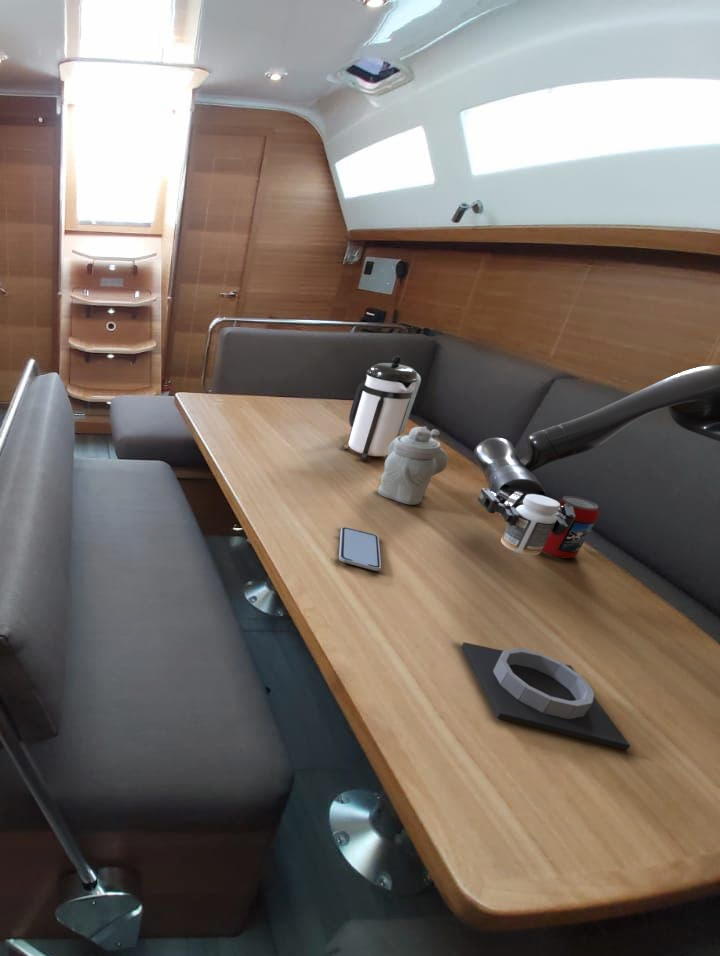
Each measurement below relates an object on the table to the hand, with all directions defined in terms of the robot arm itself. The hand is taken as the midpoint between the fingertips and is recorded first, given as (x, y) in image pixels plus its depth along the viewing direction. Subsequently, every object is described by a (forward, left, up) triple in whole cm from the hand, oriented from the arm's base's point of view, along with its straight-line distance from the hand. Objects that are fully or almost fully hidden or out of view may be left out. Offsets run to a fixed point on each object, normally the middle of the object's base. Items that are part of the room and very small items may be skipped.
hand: (536, 525), depth 86 cm
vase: (+4, -89, -14) cm, 90 cm away
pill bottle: (0, -2, -6) cm, 7 cm away
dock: (+6, +26, -14) cm, 31 cm away
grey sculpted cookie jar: (+8, -41, -14) cm, 44 cm away
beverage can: (-16, -21, -14) cm, 30 cm away
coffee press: (+13, -68, -14) cm, 70 cm away
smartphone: (+24, -6, -14) cm, 28 cm away
